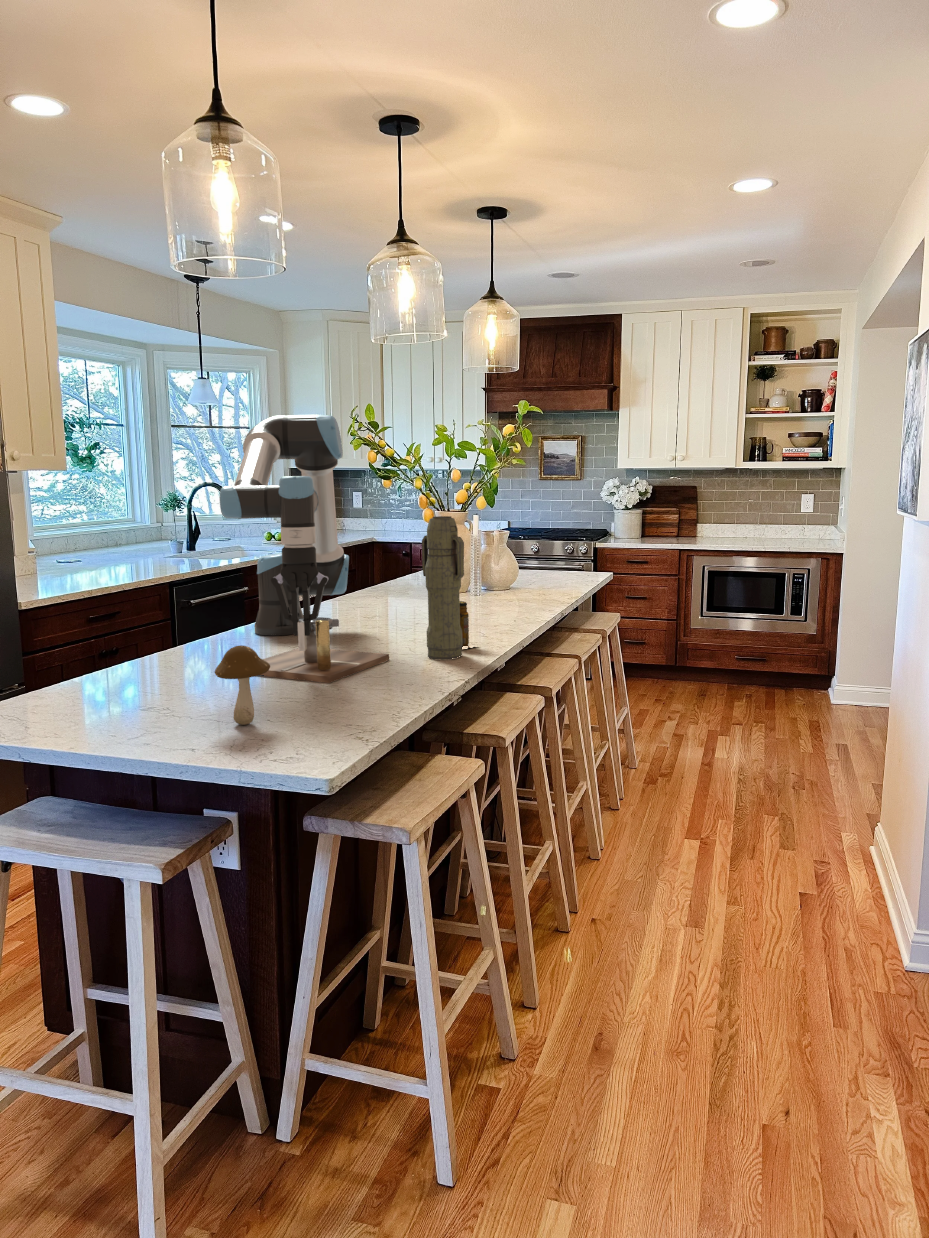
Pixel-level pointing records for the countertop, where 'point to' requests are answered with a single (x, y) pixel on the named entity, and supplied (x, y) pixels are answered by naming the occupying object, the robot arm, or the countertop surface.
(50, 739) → the countertop surface
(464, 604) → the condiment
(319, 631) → the crank handle
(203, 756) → the countertop surface
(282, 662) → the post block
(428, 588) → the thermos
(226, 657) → the mushroom
